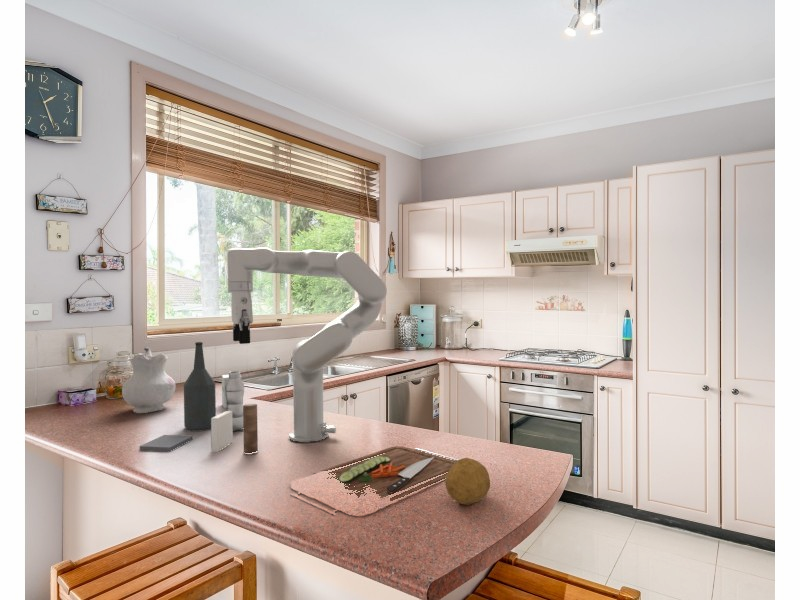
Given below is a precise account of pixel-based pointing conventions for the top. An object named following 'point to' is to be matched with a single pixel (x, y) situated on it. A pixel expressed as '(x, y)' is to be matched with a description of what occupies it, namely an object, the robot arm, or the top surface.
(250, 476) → the top surface
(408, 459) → the chopping board
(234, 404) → the plastic bottle
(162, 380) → the ceramic pitcher
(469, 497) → the potato
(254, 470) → the top surface
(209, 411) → the bottle
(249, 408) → the dowel
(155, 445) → the mat
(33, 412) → the top surface
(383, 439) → the top surface
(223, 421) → the tile
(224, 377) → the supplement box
